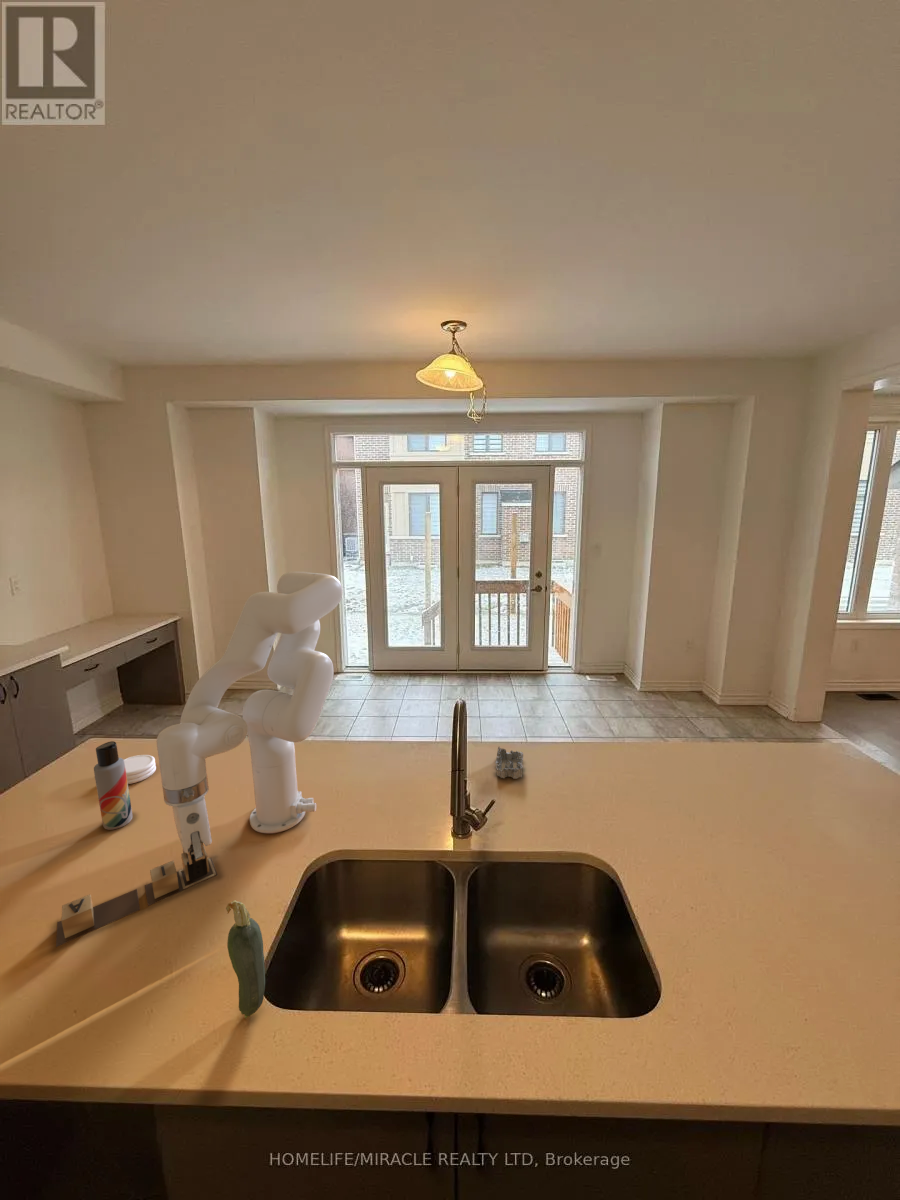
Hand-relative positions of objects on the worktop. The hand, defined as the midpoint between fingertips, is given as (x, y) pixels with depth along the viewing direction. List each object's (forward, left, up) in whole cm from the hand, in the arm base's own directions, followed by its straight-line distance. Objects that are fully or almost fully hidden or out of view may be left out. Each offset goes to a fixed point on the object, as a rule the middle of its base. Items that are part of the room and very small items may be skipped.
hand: (196, 869), depth 92 cm
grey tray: (+2, +1, -1) cm, 3 cm away
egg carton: (-70, -35, -2) cm, 78 cm away
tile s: (0, 0, 0) cm, 0 cm away
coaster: (+34, -38, -2) cm, 51 cm away
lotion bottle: (+26, -18, -2) cm, 32 cm away
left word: (+13, +9, -1) cm, 16 cm away
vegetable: (-21, +27, -2) cm, 34 cm away
